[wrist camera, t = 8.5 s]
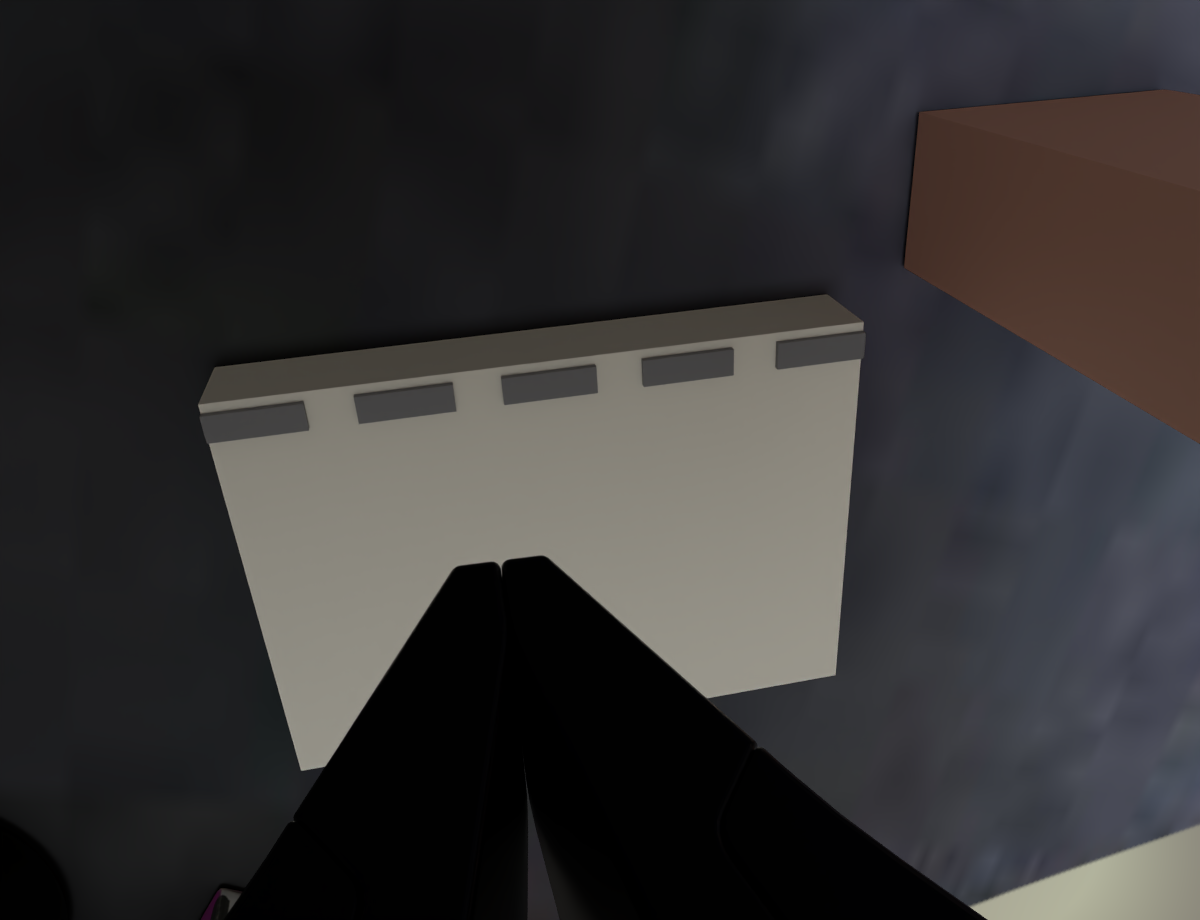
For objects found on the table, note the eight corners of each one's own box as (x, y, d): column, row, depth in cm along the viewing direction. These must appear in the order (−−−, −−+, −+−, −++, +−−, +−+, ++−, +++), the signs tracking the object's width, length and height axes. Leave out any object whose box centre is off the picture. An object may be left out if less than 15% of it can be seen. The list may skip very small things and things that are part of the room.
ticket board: (307, 715, 25) (300, 775, 23) (214, 367, 20) (196, 407, 19) (807, 629, 27) (837, 678, 25) (827, 294, 22) (866, 323, 21)
